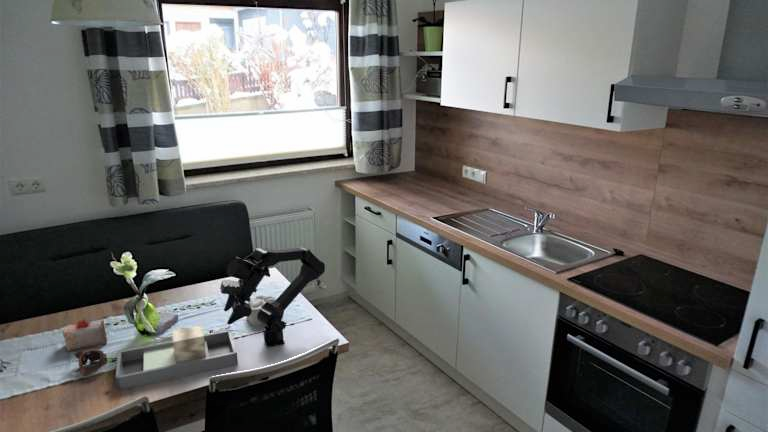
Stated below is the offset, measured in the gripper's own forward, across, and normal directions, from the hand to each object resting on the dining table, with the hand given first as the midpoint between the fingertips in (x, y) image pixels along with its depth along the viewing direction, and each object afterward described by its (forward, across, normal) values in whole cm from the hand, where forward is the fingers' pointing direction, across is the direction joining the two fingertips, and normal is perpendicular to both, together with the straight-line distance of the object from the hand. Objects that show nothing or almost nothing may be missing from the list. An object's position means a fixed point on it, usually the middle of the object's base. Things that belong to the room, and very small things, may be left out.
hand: (226, 317), depth 183 cm
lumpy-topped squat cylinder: (+3, -20, +23) cm, 31 cm away
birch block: (+17, +1, -4) cm, 18 cm away
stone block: (+27, -30, -9) cm, 41 cm away
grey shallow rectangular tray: (+22, +1, -6) cm, 23 cm away
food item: (+42, -25, -30) cm, 57 cm away
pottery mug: (+39, -7, -28) cm, 48 cm away
